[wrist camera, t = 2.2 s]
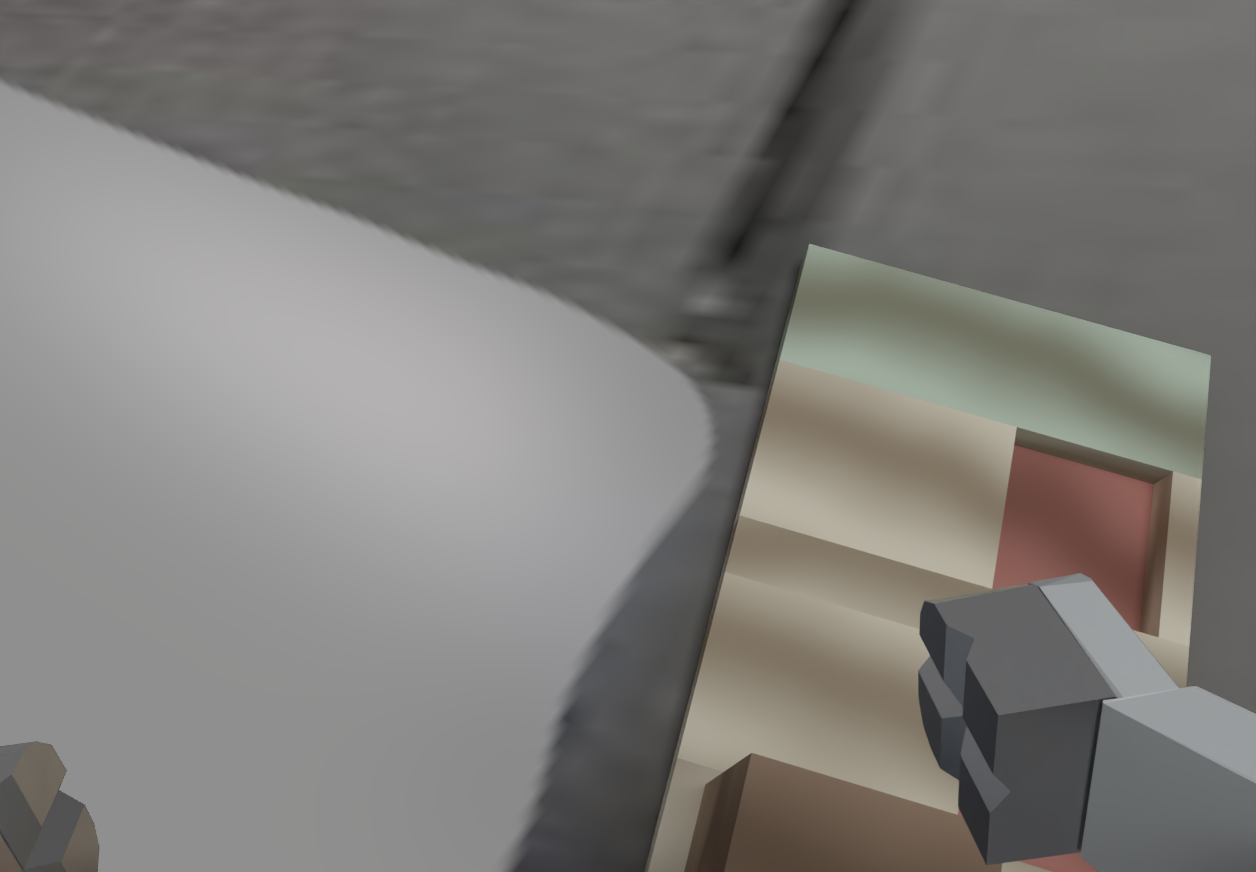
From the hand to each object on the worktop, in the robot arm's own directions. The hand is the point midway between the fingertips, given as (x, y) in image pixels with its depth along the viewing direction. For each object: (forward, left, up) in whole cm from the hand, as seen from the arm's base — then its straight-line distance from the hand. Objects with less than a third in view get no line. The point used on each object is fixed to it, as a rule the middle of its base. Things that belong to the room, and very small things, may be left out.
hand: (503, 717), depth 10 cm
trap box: (+7, -11, -24) cm, 28 cm away
